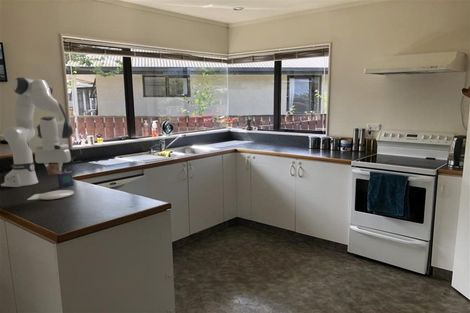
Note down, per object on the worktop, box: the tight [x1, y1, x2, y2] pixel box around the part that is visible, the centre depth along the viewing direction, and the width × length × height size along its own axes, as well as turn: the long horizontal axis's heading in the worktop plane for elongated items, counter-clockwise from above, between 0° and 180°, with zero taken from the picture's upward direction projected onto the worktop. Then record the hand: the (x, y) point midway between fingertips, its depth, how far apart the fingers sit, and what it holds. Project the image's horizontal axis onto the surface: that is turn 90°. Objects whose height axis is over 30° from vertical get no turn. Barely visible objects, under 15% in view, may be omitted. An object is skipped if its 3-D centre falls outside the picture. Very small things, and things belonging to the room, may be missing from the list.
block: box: [46, 163, 63, 175], centre depth 203 cm, size 5×5×5 cm
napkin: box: [26, 193, 42, 201], centre depth 205 cm, size 8×12×1 cm, turn 10°
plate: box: [39, 189, 75, 200], centre depth 205 cm, size 18×18×1 cm
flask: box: [56, 169, 74, 189], centre depth 228 cm, size 9×3×11 cm, turn 144°
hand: (54, 170), depth 203 cm, fingers closed on block, 5 cm apart
